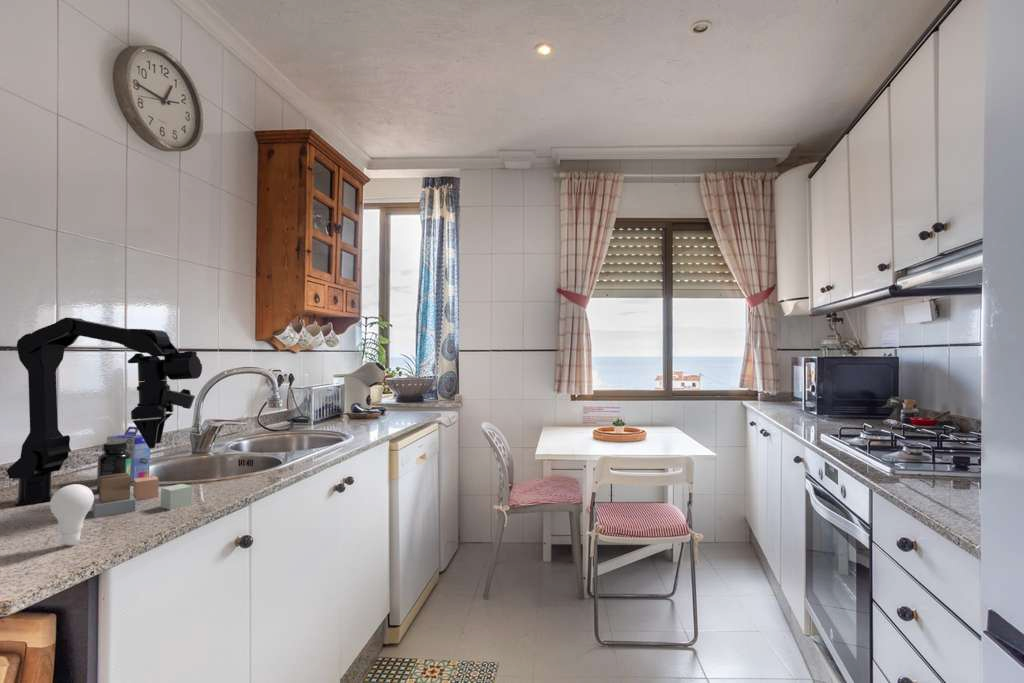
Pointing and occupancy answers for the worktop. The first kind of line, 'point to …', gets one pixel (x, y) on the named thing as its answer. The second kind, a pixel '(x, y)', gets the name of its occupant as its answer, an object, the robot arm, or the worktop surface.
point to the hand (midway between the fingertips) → (155, 445)
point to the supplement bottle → (113, 460)
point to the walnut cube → (114, 487)
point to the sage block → (176, 496)
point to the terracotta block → (145, 487)
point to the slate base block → (113, 507)
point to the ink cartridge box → (135, 452)
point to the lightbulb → (71, 510)
